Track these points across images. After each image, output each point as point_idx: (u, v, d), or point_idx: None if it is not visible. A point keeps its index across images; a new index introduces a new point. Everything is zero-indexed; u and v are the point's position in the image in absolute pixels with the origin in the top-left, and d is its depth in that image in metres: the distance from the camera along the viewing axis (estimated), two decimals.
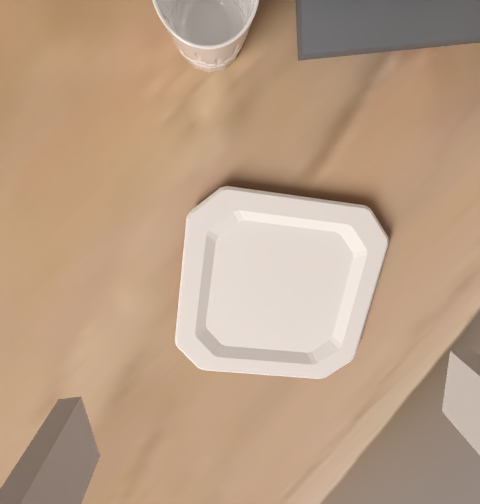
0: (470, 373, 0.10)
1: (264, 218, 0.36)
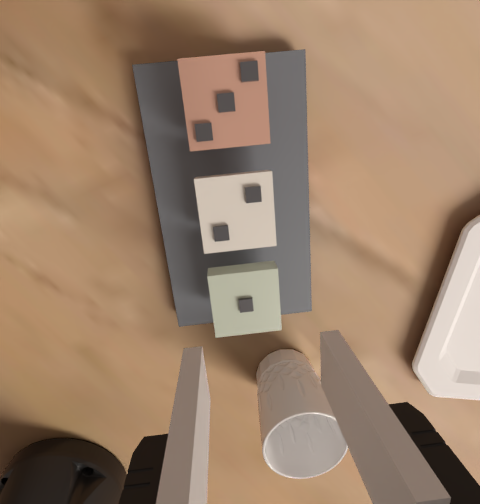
0: (327, 349, 0.12)
1: (451, 331, 0.35)
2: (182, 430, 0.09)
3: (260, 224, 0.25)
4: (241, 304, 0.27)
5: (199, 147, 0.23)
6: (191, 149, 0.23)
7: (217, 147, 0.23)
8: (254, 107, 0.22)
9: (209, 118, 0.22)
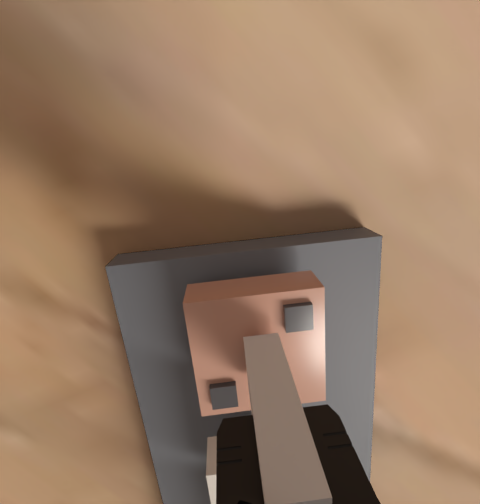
0: (263, 352, 0.12)
1: None
2: (266, 411, 0.09)
3: None
4: None
5: (216, 411, 0.15)
6: (204, 414, 0.15)
7: (244, 409, 0.15)
8: (303, 358, 0.14)
9: (232, 375, 0.14)
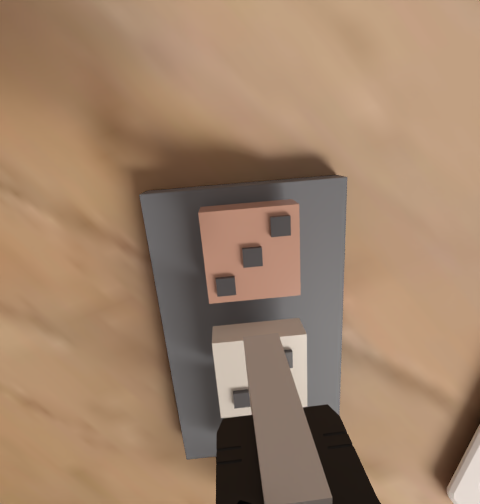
0: (263, 352, 0.12)
1: None
2: (266, 411, 0.09)
3: None
4: None
5: (220, 300, 0.20)
6: (211, 302, 0.20)
7: (240, 299, 0.20)
8: (284, 260, 0.19)
9: (232, 271, 0.19)
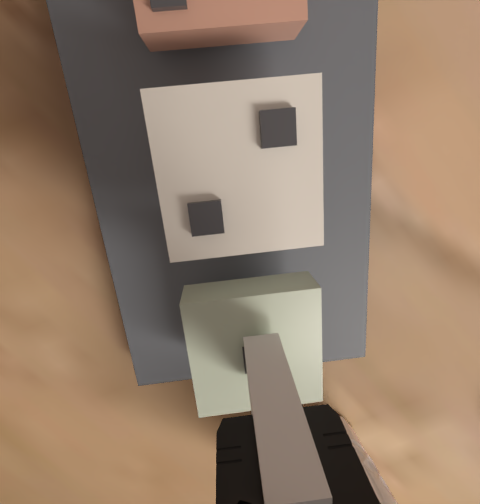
0: (263, 352, 0.12)
1: None
2: (265, 411, 0.09)
3: (291, 198, 0.11)
4: None
5: (158, 26, 0.11)
6: (141, 29, 0.11)
7: (196, 26, 0.11)
8: None
9: None
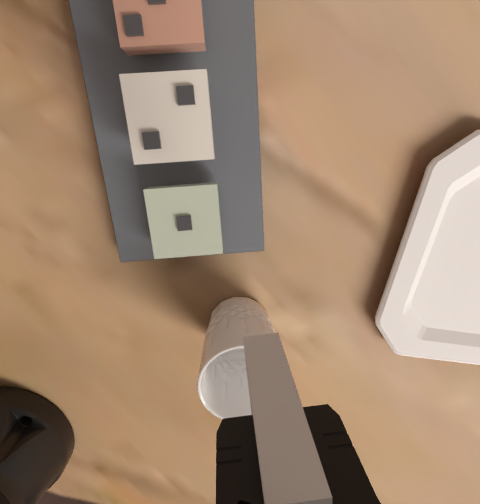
0: (263, 352, 0.12)
1: (416, 282, 0.33)
2: (265, 411, 0.09)
3: (195, 132, 0.23)
4: (179, 221, 0.26)
5: (130, 43, 0.22)
6: (121, 45, 0.22)
7: (149, 44, 0.22)
8: (186, 0, 0.21)
9: (139, 10, 0.21)
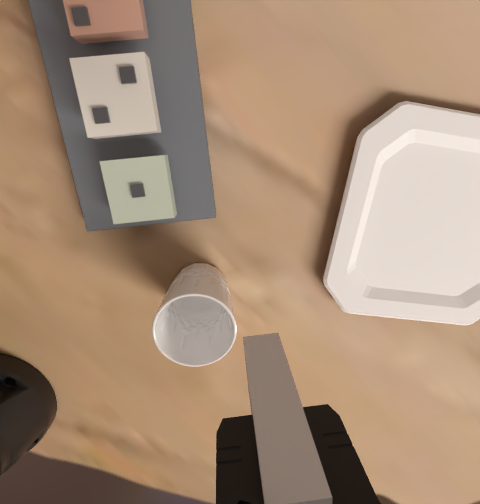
0: (263, 352, 0.12)
1: (357, 244, 0.37)
2: (265, 411, 0.09)
3: (139, 107, 0.26)
4: (132, 189, 0.29)
5: (79, 32, 0.25)
6: (71, 33, 0.25)
7: (95, 32, 0.26)
8: None
9: (85, 3, 0.25)
